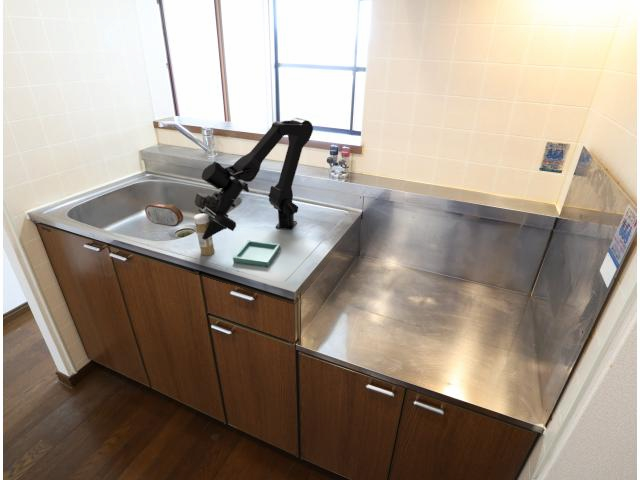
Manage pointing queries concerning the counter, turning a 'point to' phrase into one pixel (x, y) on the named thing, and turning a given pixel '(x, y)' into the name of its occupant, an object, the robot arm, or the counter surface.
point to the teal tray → (257, 253)
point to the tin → (164, 214)
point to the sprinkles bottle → (201, 227)
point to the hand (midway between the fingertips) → (200, 236)
